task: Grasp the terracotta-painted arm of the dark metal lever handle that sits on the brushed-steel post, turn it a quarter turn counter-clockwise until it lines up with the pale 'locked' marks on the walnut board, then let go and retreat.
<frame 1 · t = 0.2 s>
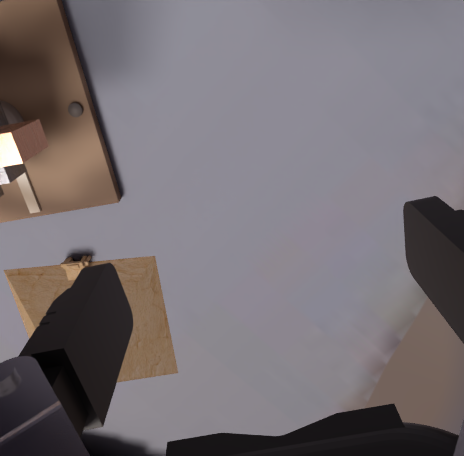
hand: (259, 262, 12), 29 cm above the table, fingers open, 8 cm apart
model pyramid: (97, 319, 49), on the table
post base: (7, 120, 39), on the table
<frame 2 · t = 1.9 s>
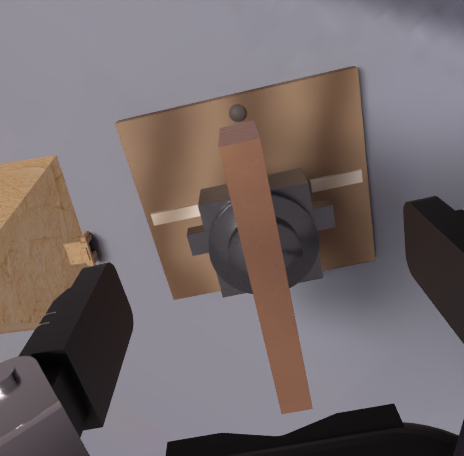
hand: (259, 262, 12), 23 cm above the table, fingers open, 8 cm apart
lever handle: (265, 254, 25), point 11 cm above the table, hinge at 0.0°
model pyramid: (3, 253, 38), on the table
post base: (254, 192, 35), on the table
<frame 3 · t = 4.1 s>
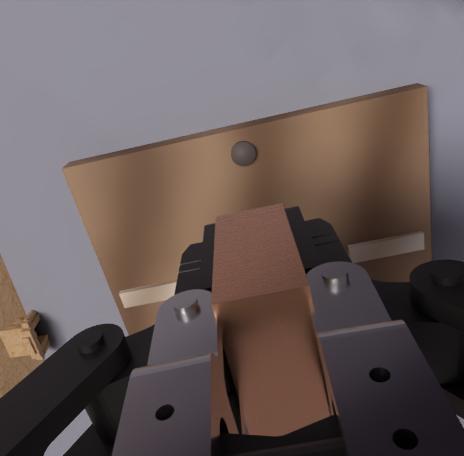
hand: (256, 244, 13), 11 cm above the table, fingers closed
lever handle: (293, 409, 15), point 11 cm above the table, hinge at 0.0°, touching gripper
post base: (266, 258, 25), on the table
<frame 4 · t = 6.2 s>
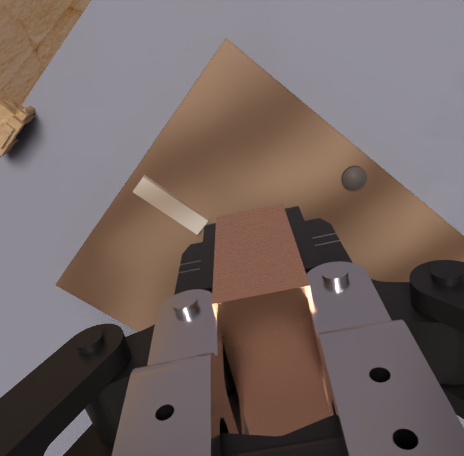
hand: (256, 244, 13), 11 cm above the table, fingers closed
lever handle: (293, 409, 15), point 11 cm above the table, hinge at 49.9°, touching gripper
post base: (266, 259, 25), on the table
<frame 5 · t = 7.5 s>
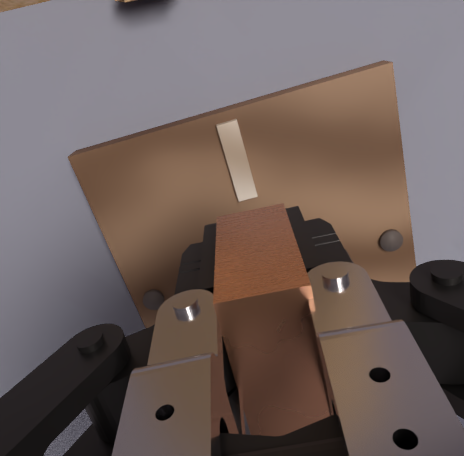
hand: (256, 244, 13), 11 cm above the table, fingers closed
lever handle: (294, 409, 15), point 11 cm above the table, hinge at 86.7°, touching gripper
post base: (266, 259, 25), on the table
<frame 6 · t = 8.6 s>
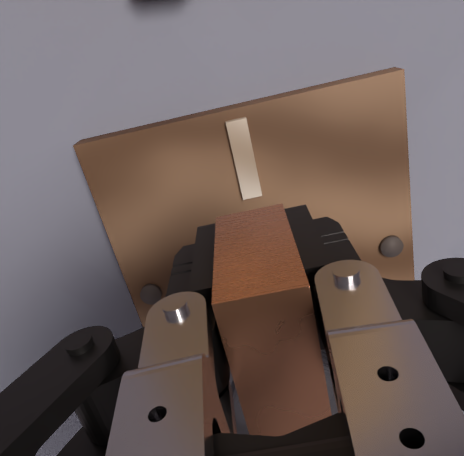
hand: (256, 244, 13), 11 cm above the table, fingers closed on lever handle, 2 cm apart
lever handle: (293, 409, 15), point 11 cm above the table, hinge at 89.9°, touching gripper
post base: (266, 259, 25), on the table
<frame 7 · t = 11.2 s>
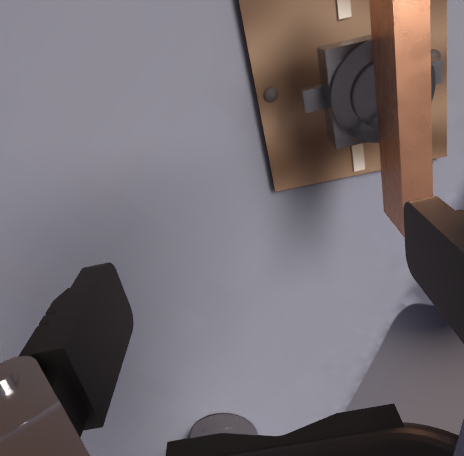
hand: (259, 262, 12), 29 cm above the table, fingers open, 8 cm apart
lever handle: (387, 94, 27), point 11 cm above the table, hinge at 89.9°
post base: (346, 74, 37), on the table
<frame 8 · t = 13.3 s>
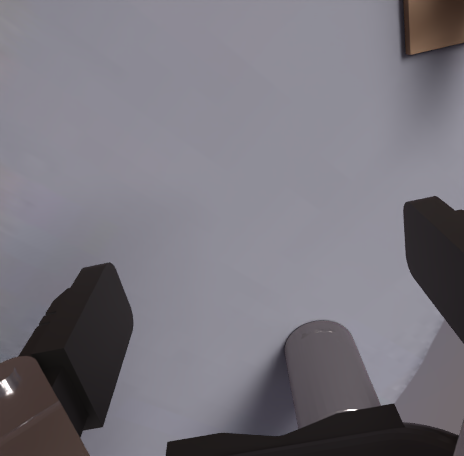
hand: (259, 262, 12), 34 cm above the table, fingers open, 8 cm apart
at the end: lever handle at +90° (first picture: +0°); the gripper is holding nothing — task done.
